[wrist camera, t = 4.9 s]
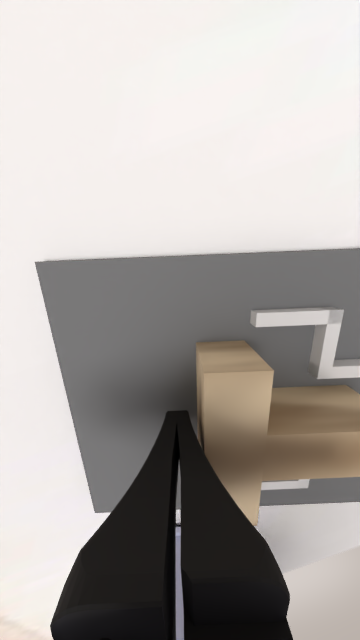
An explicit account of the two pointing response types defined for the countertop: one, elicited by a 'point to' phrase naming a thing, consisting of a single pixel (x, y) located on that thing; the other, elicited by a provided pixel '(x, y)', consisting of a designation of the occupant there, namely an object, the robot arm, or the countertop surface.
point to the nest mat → (194, 347)
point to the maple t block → (270, 424)
